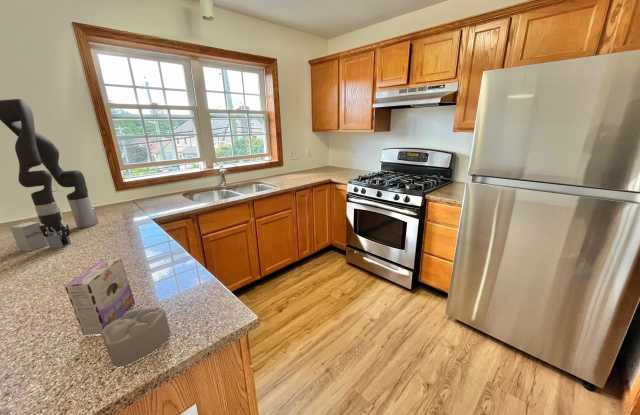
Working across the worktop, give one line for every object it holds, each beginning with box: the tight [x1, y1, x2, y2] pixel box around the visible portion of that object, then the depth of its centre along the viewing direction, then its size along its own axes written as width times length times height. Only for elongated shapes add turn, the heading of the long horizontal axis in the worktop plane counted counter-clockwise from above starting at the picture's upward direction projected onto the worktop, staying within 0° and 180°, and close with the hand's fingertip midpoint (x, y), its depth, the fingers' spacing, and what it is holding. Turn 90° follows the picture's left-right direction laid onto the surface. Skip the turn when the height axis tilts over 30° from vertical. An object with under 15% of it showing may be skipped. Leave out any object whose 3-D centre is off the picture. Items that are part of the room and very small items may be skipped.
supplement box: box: [9, 221, 48, 252], centre depth 128 cm, size 7×7×13 cm
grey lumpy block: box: [101, 306, 171, 367], centre depth 66 cm, size 10×13×9 cm
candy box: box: [64, 257, 136, 336], centre depth 75 cm, size 14×6×16 cm, turn 5°
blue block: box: [45, 233, 72, 249], centre depth 130 cm, size 6×6×6 cm
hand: (60, 244), depth 131 cm, fingers closed on blue block, 5 cm apart
